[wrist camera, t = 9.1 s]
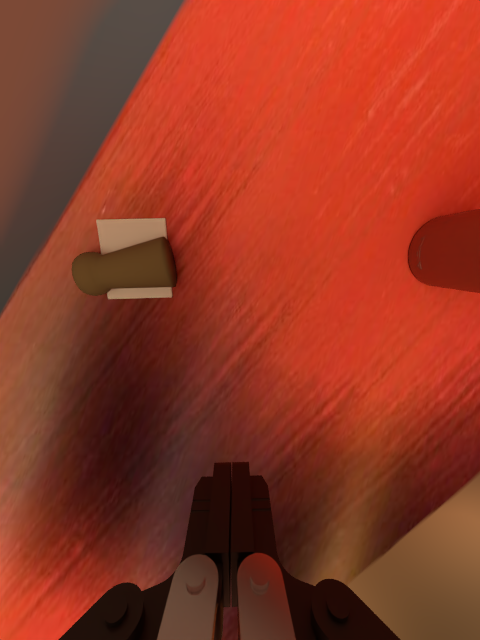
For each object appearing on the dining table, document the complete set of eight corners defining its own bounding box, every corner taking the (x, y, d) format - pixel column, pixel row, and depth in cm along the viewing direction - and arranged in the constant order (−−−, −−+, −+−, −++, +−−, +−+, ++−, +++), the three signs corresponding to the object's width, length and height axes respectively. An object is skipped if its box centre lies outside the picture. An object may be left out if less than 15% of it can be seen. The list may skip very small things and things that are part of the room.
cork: (176, 296, 33) (90, 310, 33) (176, 261, 36) (97, 274, 36) (159, 263, 28) (57, 279, 28) (161, 225, 31) (69, 239, 31)
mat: (165, 218, 33) (164, 218, 33) (172, 296, 36) (171, 297, 35) (97, 220, 33) (96, 219, 33) (109, 298, 36) (108, 299, 35)
